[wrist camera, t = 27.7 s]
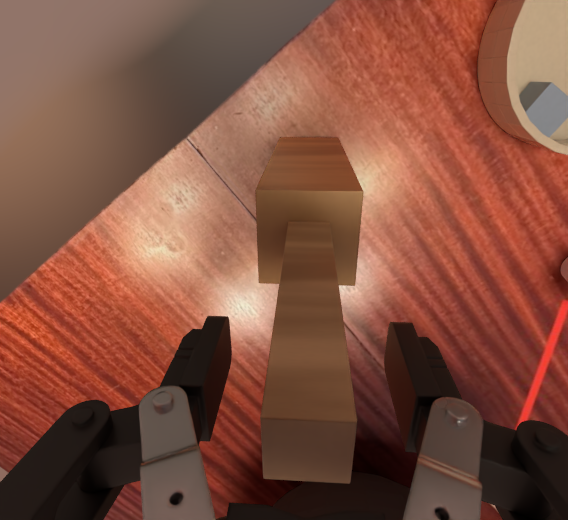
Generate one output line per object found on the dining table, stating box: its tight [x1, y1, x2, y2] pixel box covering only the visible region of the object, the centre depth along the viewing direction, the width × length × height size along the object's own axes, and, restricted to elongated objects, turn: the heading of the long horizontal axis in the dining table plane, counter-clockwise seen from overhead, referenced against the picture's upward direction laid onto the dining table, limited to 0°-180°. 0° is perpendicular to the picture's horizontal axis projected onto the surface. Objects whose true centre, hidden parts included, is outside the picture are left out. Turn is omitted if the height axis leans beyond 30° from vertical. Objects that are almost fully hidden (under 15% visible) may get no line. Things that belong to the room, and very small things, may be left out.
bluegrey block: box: [519, 82, 568, 137], centre depth 35 cm, size 3×3×3 cm
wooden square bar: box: [260, 222, 357, 484], centre depth 16 cm, size 2×2×14 cm
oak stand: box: [255, 137, 363, 286], centre depth 31 cm, size 6×6×20 cm
